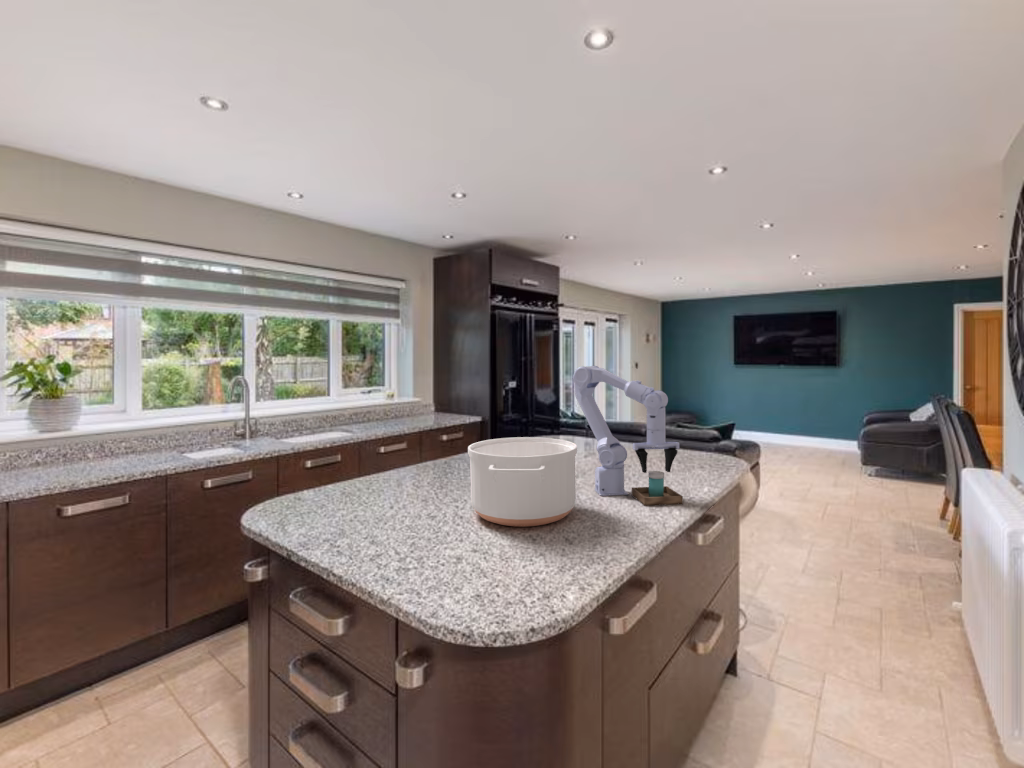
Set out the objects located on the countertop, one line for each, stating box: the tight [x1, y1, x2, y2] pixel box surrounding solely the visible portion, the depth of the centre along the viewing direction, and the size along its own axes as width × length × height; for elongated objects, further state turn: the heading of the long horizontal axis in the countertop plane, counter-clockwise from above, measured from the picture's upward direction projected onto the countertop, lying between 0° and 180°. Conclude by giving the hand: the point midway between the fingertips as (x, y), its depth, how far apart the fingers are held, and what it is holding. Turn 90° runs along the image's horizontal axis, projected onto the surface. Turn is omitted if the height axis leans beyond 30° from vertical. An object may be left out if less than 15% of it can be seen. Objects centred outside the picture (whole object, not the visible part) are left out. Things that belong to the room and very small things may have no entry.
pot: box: [467, 436, 578, 528], centre depth 143 cm, size 42×32×20 cm
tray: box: [631, 485, 684, 507], centre depth 155 cm, size 12×12×2 cm
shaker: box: [647, 470, 665, 497], centre depth 155 cm, size 5×5×8 cm
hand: (656, 471), depth 155 cm, fingers open, 7 cm apart
